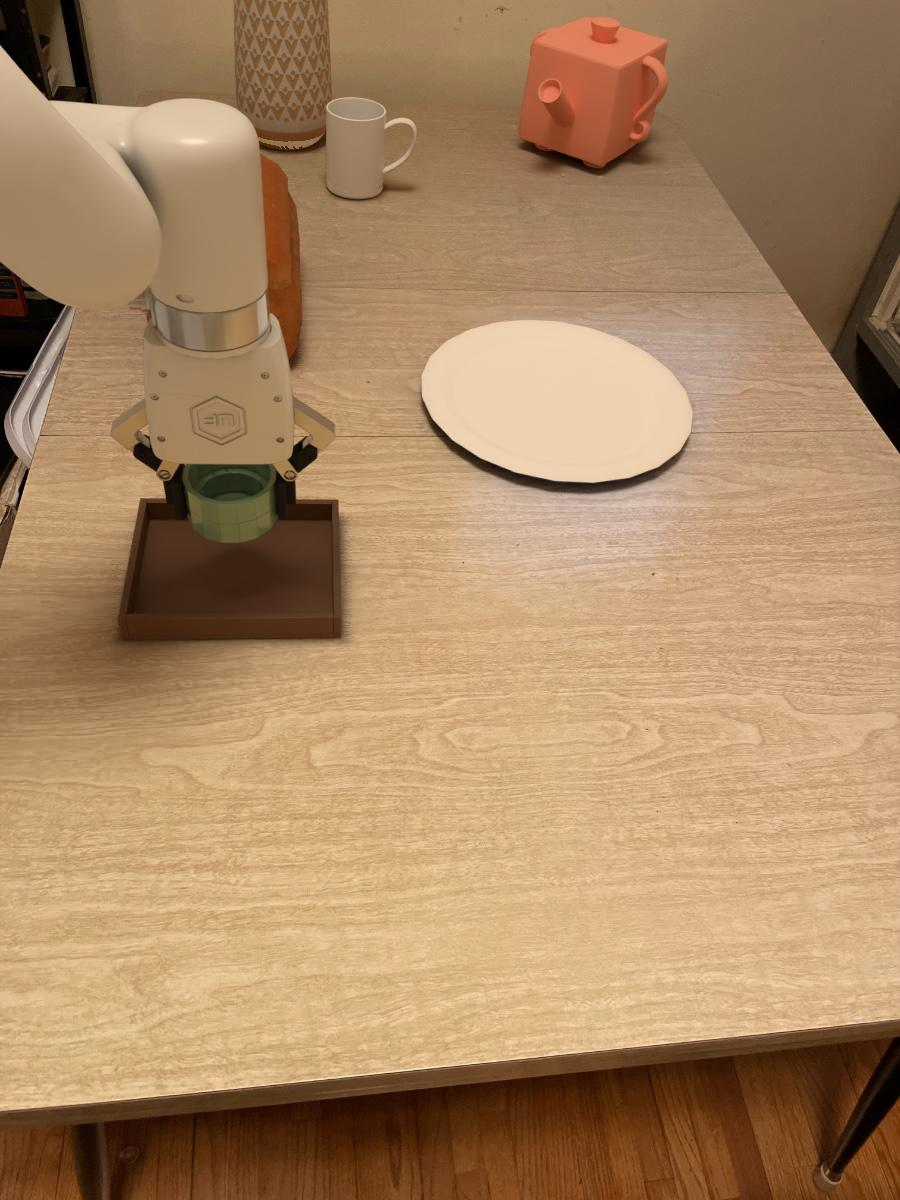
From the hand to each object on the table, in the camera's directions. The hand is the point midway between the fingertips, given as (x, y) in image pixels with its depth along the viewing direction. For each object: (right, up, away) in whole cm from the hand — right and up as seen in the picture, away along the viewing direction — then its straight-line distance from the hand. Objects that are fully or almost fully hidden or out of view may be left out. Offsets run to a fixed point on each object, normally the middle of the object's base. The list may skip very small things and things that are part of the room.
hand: (233, 507), depth 76 cm
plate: (+28, +13, +27) cm, 42 cm away
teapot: (+36, +62, +73) cm, 103 cm away
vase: (-7, +62, +67) cm, 92 cm away
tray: (-1, -5, +6) cm, 8 cm away
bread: (-8, +26, +34) cm, 44 cm away
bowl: (0, -1, +1) cm, 1 cm away
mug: (+6, +50, +58) cm, 77 cm away
